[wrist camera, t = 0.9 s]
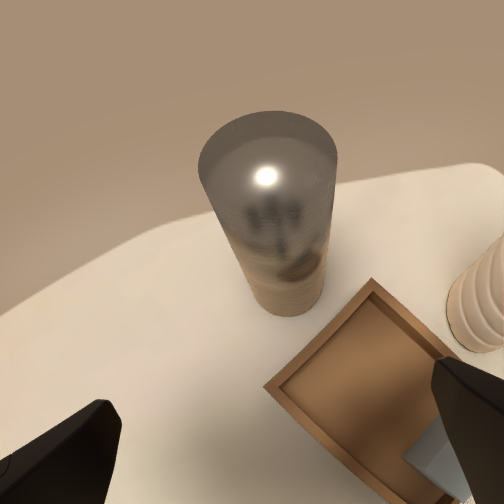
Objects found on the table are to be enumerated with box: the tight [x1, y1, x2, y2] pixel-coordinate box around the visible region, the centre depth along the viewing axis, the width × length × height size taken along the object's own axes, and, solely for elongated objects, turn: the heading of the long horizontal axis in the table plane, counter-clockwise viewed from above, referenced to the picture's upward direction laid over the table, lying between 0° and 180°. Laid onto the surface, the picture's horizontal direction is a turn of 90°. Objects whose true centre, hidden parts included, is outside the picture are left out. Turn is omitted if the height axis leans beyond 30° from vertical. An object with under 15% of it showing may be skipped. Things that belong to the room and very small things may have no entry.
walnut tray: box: [263, 277, 463, 504], centre depth 16 cm, size 15×9×3 cm, turn 43°
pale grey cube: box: [401, 413, 472, 503], centre depth 12 cm, size 4×4×4 cm
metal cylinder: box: [198, 111, 337, 317], centre depth 17 cm, size 5×5×13 cm
